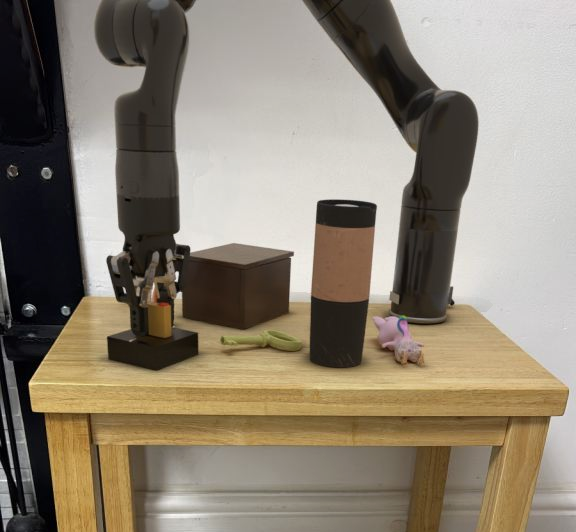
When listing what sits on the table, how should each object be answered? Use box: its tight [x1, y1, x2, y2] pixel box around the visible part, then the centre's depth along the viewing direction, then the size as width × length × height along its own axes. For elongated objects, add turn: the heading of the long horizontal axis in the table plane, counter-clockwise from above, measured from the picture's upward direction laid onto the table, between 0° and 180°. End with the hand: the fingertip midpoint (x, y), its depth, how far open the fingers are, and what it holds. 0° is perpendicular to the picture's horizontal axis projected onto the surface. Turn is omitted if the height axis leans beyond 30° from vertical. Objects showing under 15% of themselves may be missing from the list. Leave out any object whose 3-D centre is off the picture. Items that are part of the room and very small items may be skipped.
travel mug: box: [309, 198, 378, 368], centre depth 101 cm, size 8×8×20 cm
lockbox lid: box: [189, 242, 295, 269], centre depth 122 cm, size 14×12×1 cm
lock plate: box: [106, 325, 199, 371], centre depth 103 cm, size 9×8×3 cm
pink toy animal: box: [372, 315, 425, 367], centre depth 110 cm, size 6×6×15 cm
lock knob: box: [146, 301, 172, 338], centre depth 101 cm, size 5×1×4 cm, turn 60°
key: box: [219, 329, 304, 352], centre depth 109 cm, size 7×12×2 cm, turn 140°
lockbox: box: [181, 257, 292, 330], centre depth 124 cm, size 14×12×9 cm
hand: (153, 330), depth 102 cm, fingers open, 4 cm apart
